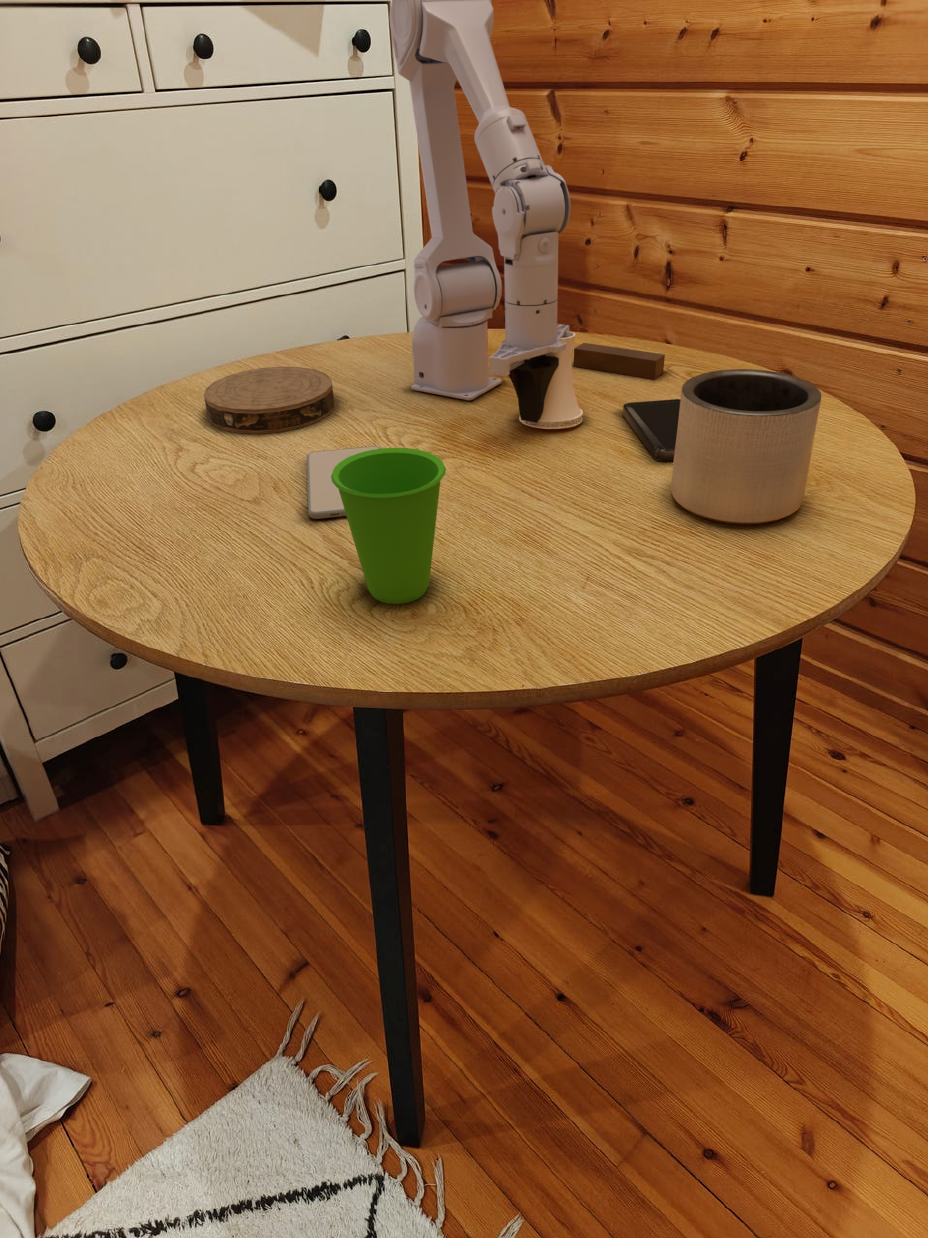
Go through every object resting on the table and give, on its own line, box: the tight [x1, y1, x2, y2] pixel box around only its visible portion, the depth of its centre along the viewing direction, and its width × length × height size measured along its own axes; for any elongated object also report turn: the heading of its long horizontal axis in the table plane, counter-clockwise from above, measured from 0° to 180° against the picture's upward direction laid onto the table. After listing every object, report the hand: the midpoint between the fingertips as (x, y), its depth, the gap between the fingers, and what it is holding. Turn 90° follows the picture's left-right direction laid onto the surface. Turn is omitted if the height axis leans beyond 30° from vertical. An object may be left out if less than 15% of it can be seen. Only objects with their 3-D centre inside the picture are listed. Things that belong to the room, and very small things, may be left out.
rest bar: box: [573, 342, 666, 380], centre depth 122 cm, size 12×3×2 cm, turn 57°
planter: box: [670, 368, 822, 526], centre depth 86 cm, size 12×12×11 cm
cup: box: [331, 447, 447, 605], centre depth 74 cm, size 9×9×11 cm
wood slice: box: [203, 366, 335, 435], centre depth 114 cm, size 16×16×3 cm
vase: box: [518, 330, 584, 430], centre depth 105 cm, size 8×8×10 cm
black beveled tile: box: [622, 398, 681, 462], centre depth 103 cm, size 8×1×15 cm
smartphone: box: [306, 445, 381, 520], centre depth 94 cm, size 8×1×15 cm
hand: (531, 419), depth 105 cm, fingers closed, pressing on vase
